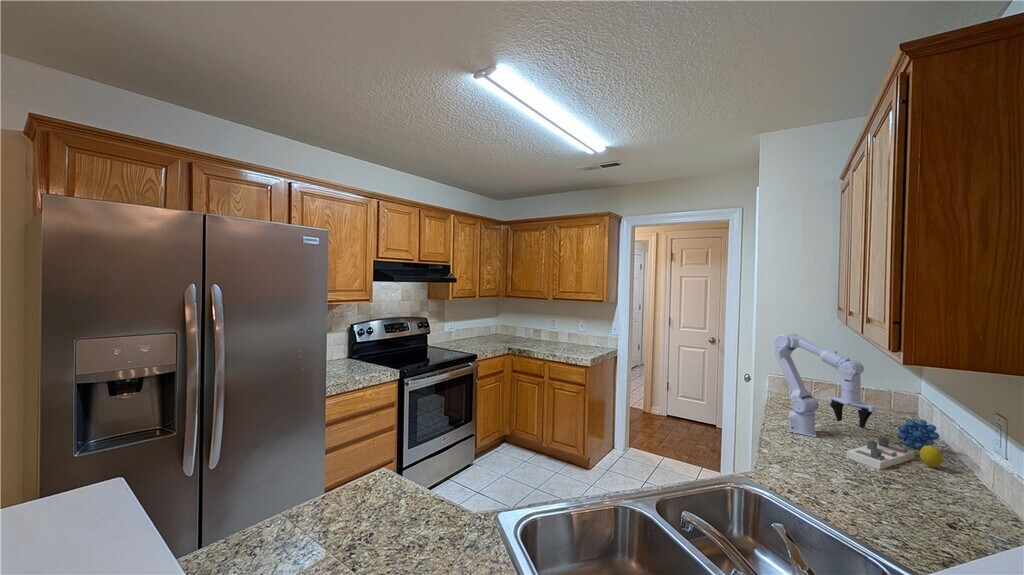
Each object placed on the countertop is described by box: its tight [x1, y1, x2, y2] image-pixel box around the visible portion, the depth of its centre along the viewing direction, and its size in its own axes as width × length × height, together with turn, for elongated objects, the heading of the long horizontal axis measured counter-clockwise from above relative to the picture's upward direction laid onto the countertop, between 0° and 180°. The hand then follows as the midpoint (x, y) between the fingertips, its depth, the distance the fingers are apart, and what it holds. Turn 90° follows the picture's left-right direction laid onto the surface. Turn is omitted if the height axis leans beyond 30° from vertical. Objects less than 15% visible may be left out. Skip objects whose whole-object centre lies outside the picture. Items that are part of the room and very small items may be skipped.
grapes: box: [896, 419, 940, 450], centre depth 151 cm, size 12×7×12 cm, turn 50°
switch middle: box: [866, 439, 878, 449], centre depth 145 cm, size 2×2×3 cm
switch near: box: [871, 449, 881, 459], centre depth 137 cm, size 2×2×3 cm
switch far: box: [878, 436, 890, 446], centre depth 148 cm, size 2×2×3 cm
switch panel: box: [846, 441, 915, 470], centre depth 143 cm, size 23×10×4 cm, turn 112°
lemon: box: [919, 445, 944, 468], centre depth 135 cm, size 6×6×8 cm
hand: (850, 423), depth 151 cm, fingers open, 7 cm apart
